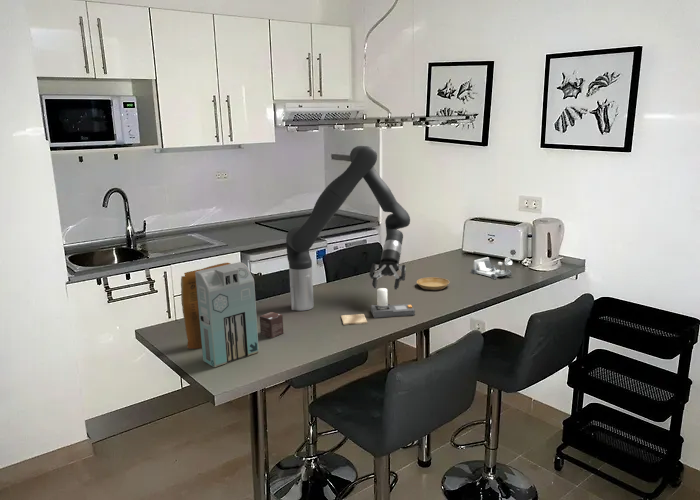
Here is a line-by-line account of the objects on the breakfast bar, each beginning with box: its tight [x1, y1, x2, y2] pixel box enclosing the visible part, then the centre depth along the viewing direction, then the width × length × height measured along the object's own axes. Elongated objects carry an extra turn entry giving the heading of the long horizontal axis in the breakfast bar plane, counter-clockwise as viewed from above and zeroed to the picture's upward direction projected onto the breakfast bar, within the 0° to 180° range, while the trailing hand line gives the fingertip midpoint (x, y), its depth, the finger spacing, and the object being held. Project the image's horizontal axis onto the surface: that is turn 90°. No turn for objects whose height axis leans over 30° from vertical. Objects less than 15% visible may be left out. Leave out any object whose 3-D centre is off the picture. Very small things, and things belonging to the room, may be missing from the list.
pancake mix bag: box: [180, 262, 232, 350], centre depth 192 cm, size 7×19×28 cm, turn 127°
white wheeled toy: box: [470, 256, 513, 281], centre depth 270 cm, size 18×10×12 cm
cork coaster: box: [340, 313, 368, 326], centre depth 215 cm, size 9×9×1 cm
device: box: [195, 261, 260, 368], centre depth 180 cm, size 16×8×30 cm, turn 133°
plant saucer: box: [416, 276, 450, 291], centre depth 255 cm, size 15×15×3 cm
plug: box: [376, 287, 389, 310], centre depth 220 cm, size 4×4×10 cm
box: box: [259, 311, 284, 339], centre depth 202 cm, size 6×6×7 cm
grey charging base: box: [370, 303, 416, 319], centre depth 221 cm, size 16×8×3 cm, turn 97°
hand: (384, 287), depth 223 cm, fingers open, 8 cm apart
